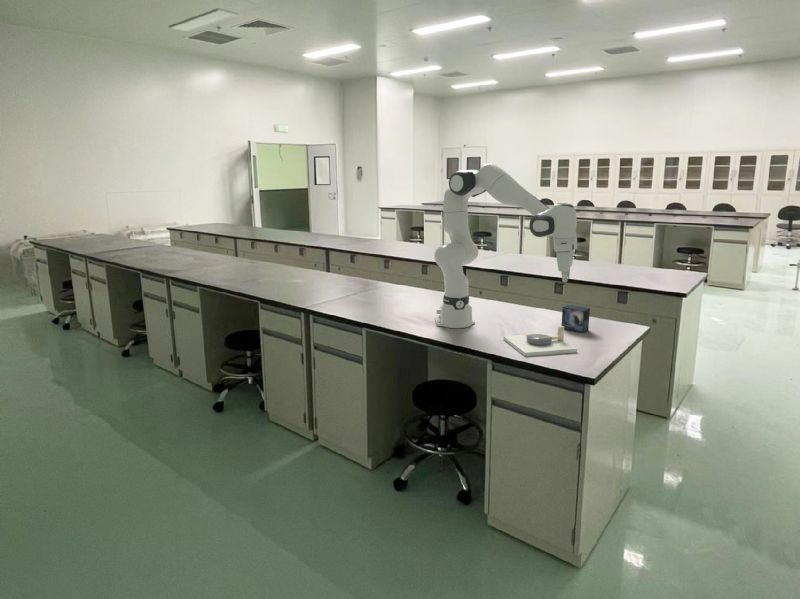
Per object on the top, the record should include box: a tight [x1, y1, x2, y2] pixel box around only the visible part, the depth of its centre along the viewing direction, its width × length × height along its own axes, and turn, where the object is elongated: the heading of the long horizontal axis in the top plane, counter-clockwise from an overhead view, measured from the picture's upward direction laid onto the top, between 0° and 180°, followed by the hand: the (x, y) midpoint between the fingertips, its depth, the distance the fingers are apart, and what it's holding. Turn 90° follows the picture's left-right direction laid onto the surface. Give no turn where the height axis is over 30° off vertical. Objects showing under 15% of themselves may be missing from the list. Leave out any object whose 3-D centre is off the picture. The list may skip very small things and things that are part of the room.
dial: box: [526, 325, 565, 345], centre depth 213 cm, size 16×10×6 cm, turn 101°
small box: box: [560, 304, 591, 334], centre depth 235 cm, size 11×6×10 cm, turn 45°
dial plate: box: [502, 332, 578, 357], centre depth 214 cm, size 22×22×2 cm
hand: (566, 279), depth 205 cm, fingers open, 8 cm apart
